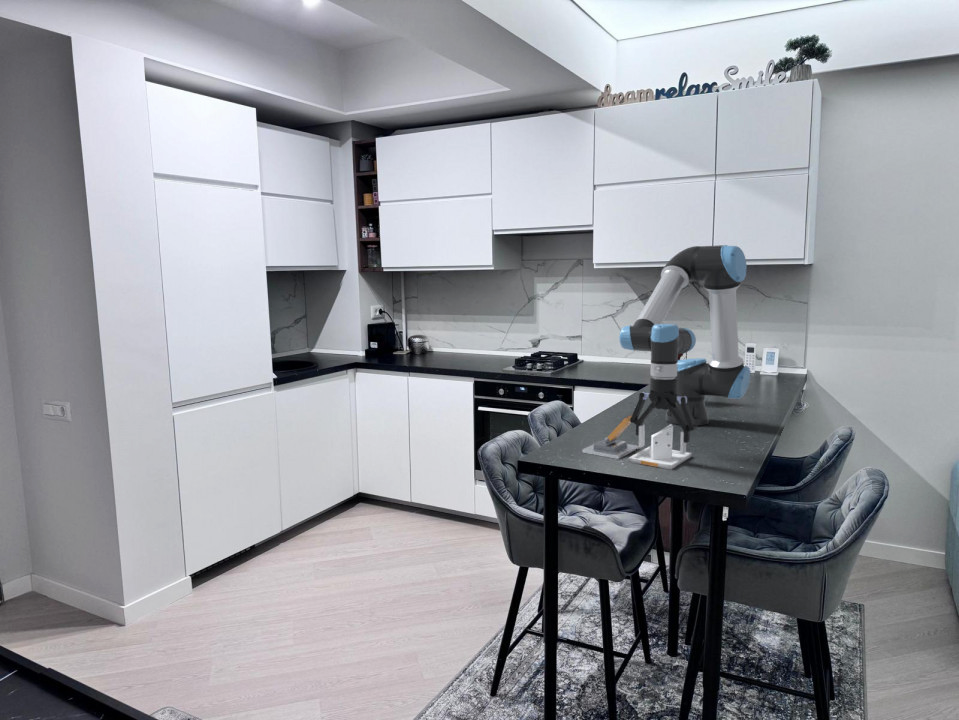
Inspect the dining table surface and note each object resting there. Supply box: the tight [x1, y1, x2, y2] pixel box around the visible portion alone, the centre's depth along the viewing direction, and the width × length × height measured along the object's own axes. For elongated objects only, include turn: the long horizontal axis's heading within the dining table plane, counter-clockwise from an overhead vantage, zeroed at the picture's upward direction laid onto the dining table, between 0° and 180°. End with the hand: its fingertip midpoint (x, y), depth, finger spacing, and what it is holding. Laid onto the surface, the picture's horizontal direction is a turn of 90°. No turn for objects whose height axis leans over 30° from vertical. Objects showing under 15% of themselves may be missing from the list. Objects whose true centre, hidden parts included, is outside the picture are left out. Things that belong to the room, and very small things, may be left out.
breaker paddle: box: [603, 414, 632, 444], centre depth 204 cm, size 5×2×11 cm
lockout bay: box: [627, 446, 692, 470], centre depth 197 cm, size 16×13×1 cm
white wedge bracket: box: [648, 423, 674, 459], centre depth 196 cm, size 4×10×9 cm, turn 92°
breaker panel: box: [582, 438, 639, 460], centre depth 206 cm, size 14×12×2 cm
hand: (661, 449), depth 196 cm, fingers open, 12 cm apart
